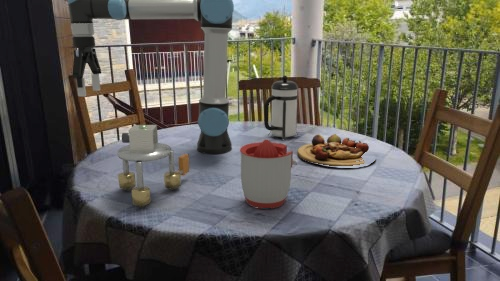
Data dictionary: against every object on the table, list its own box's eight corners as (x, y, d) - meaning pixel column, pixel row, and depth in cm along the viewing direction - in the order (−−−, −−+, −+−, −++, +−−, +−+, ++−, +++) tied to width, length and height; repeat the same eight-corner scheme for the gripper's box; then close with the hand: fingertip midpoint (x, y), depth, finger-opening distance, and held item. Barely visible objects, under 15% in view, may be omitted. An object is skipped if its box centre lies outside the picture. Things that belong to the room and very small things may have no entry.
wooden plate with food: (338, 176, 146) (340, 154, 144) (281, 153, 171) (282, 135, 169) (391, 161, 165) (394, 142, 162) (333, 143, 189) (334, 126, 187)
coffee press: (267, 132, 205) (268, 73, 197) (298, 134, 203) (301, 74, 195) (263, 142, 188) (264, 77, 180) (298, 143, 186) (300, 78, 178)
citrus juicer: (303, 209, 118) (306, 144, 113) (245, 215, 115) (245, 148, 109) (287, 189, 133) (289, 131, 128) (236, 193, 130) (235, 134, 124)
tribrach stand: (176, 185, 136) (173, 119, 130) (167, 210, 118) (163, 134, 112) (122, 186, 135) (117, 120, 129) (105, 210, 117) (97, 135, 111)
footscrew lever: (176, 192, 129) (174, 154, 126) (161, 190, 131) (159, 152, 127) (194, 178, 142) (192, 142, 138) (180, 176, 143) (179, 141, 140)
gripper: (87, 35, 160) (93, 88, 165) (56, 36, 136) (64, 99, 141) (106, 35, 159) (111, 88, 165) (78, 36, 135) (86, 99, 141)
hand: (89, 93), depth 153 cm, fingers open, 13 cm apart
